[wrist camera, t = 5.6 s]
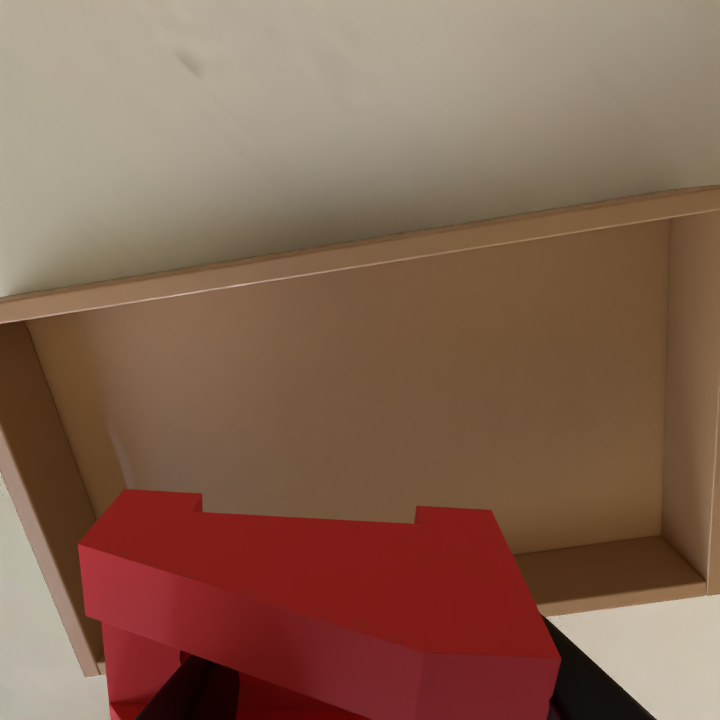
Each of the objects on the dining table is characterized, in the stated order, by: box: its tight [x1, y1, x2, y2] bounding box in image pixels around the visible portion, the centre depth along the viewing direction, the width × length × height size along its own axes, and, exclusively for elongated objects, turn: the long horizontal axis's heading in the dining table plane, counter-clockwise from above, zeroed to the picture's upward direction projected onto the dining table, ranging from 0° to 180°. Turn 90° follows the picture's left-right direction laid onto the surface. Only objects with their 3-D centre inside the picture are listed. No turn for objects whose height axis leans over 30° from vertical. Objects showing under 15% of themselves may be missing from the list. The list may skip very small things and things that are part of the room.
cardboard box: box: [0, 185, 720, 678], centre depth 16 cm, size 22×13×3 cm, turn 99°
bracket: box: [78, 489, 561, 720], centre depth 8 cm, size 6×5×3 cm
